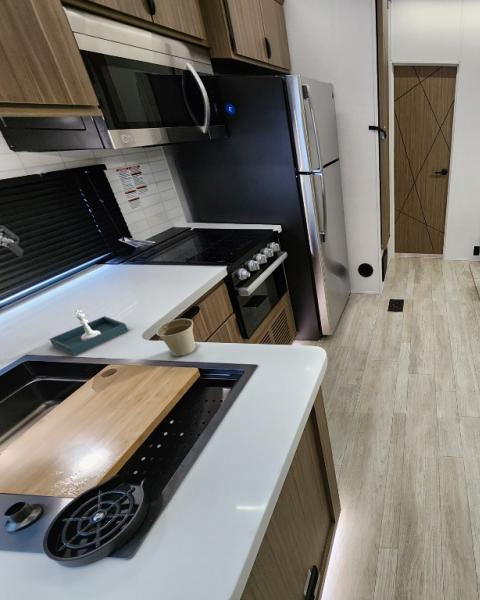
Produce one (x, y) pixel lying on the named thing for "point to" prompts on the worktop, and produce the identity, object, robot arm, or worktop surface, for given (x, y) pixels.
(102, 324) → the tray
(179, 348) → the flower pot
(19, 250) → the robot arm
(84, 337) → the chess piece
